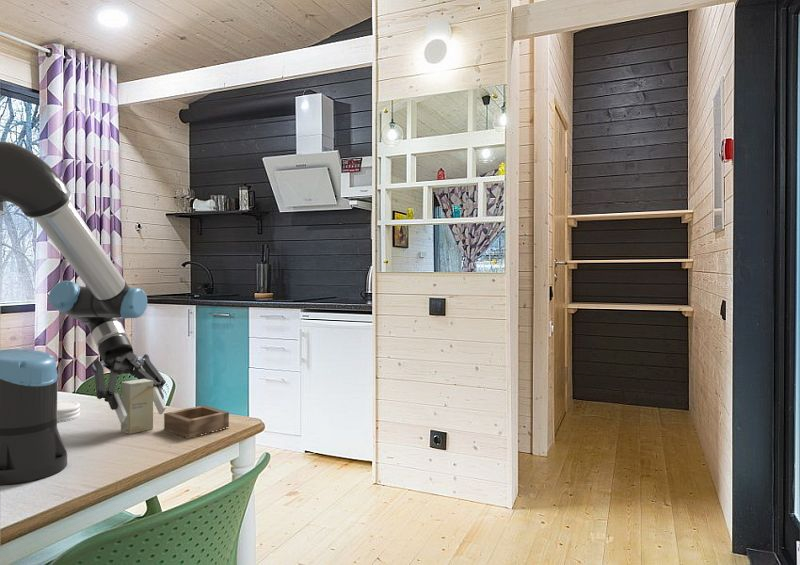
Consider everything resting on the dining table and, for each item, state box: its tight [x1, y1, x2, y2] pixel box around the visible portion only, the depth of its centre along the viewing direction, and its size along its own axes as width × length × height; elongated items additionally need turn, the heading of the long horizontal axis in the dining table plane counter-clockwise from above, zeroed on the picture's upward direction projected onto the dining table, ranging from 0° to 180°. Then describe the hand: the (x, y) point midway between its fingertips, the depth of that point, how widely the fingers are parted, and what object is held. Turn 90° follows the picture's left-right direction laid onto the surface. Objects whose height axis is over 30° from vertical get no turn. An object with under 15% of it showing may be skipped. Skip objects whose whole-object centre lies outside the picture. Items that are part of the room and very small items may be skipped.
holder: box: [163, 404, 230, 439], centre depth 142 cm, size 11×11×4 cm
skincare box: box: [120, 379, 154, 435], centre depth 140 cm, size 6×4×12 cm
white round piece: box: [57, 400, 81, 423], centre depth 150 cm, size 10×10×4 cm
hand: (143, 414), depth 139 cm, fingers open, 9 cm apart
